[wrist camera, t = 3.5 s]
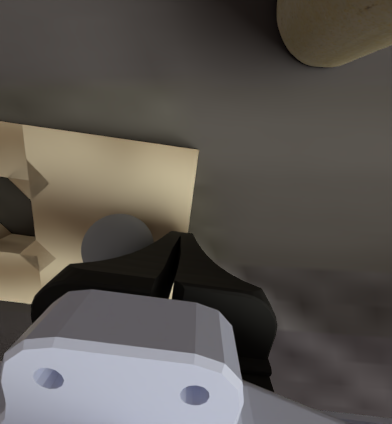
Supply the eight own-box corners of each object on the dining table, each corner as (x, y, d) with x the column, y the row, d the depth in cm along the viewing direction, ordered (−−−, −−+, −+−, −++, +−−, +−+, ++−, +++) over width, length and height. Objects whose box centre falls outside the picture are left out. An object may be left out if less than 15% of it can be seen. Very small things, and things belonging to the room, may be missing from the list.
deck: (178, 298, 17) (175, 321, 14) (-27, 272, 16) (-64, 292, 14) (198, 149, 13) (198, 149, 11) (-65, 111, 13) (-124, 103, 10)
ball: (157, 262, 13) (141, 303, 10) (102, 255, 13) (66, 293, 9) (161, 210, 12) (146, 234, 8) (101, 201, 12) (61, 223, 8)
